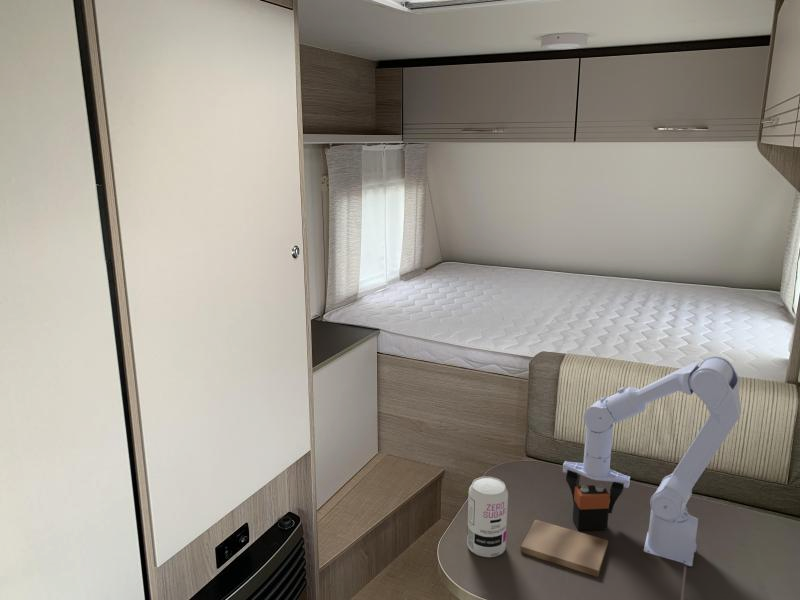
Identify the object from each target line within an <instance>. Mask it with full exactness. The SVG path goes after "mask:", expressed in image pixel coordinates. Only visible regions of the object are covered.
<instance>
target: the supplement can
mask: <svg viewBox="0 0 800 600" xmlns="http://www.w3.org/2000/svg"><path fill="white" fill-rule="evenodd" d="M467 498H468V500H467V504H468V505H467V530H466V531H467V533H466V536H467V537H466V538H467V539H466V545H467V548H468V549H469V550H470V551H471V553H473V554H475V555H476V556H479V557H482V558H483V557H484V558H494V557H495V558H496V557H498V556H500V555H502V554H503V553H504V552H505V551H506V547H507V544H506V543H507V542H506V541H507V525H508V524H507V523H508V506H509V505H508V503H509V491H508V489H507V487H506V484H505V482H504V481H502V480H501V479H499V478H497V477H494V476H480V477H478V478H477V477H476V478H475V479H474V480H473V481H472V484H471V485H470V486H469V489H468V497H467Z"/></svg>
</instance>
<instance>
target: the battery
mask: <svg viewBox="0 0 800 600" xmlns="http://www.w3.org/2000/svg"><path fill="white" fill-rule="evenodd" d="M609 504H610V492H609V491H608V490H607V488H606V487H605V485H604V484H602V483H596V484H586V485H584V484H583V485H579V486H575V492H574V503H573V507H572V508H573V510H572V521H573V523H574V525H575V527H576V528H577V531H593V530H594V531H597V530H607V528H608V522H609V514H610V513H609Z"/></svg>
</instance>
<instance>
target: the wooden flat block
mask: <svg viewBox="0 0 800 600" xmlns="http://www.w3.org/2000/svg"><path fill="white" fill-rule="evenodd" d="M608 545H609V540H608V539H605V538H601V537H598V536H594V535H590V534H588V533H585V532H580V531H578V530H574V529H570V528H566V527H564V526H563V527H562V526H559V525H556V524H553V523H550V522H547V521H542V520H539V519H534V521H533V523H532V524H531V526H530V528H529V530H528V533H527V534H526V536H525V538H524V539H523V542H522V543H521V545H520V553H523V554H525V555H528V556H531V557H534V558H537V559H539V560H540V559H541V560H543V561H546V562H550V563H553V564H554V565H555V564H556V565H559V566H562V567H564V568H568V569H571V570H573V571H574V570H575V571H578V572H581V573H583V574H584V573H585V574H587V575H590V576H593V577H597V578H598V577H599V575H600V573H601V569H602V567H603V566H602V565H603V562H604V559H605V555H606V553H607V550H608Z"/></svg>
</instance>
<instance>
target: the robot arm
mask: <svg viewBox="0 0 800 600" xmlns="http://www.w3.org/2000/svg"><path fill="white" fill-rule="evenodd" d="M699 363H700V365H699ZM739 378H740V377H739V376H738V373H737V372H736V370H735V368H734V366H733V365H732V363H731V362H730V361H729V360H728V359H726V358H724V357H722V356H716V355H715V356H709V357H707V358H705V359H703V361H702V362H701V361H700V360H699V361H694V362H692V363H690V364H688V365H686V366H683V367H681V368H678V369H677V370H674V371H673V372H670V373H669V374H666V375H665V376H663V377H661V378H659V379H657V380H655V381H653V382H651V383H649V384H648V385H645V386H643V387H642V388H637V387H633V386H629V387H627V388H626V387H625V386H622V387H620V388H618V390H617V392H615V393H614V394H613V395H611V396H608V397H606V396H602V397H600V399H599V400H596V401H595V402H594V403H592V405H590V407H588V408H587V409H586V410H585V411H584V414H583V421H584V424H585V426H586V430H585V438H584V452H583V453H584V454H583V462H574V461H567V460H565V461H564V462H563V464H562V473H566V476H565V481H566V483H567V484H568V486H569V489H570V492H571V496H572V502H573V504H574V492H575V486H580V481H581V480H580V479H581V476H583V477H586V478H588V479H591V480H593V481H604V482H607V483H612V484H611V486H610V489H609V494H610V503H609V514H613V511H614V506H615V504H616V501H617V500H618V499H619V497H620V496H621V494H622V493H623V491H624V488H626V489H628V488H629V487H630V481H631V476H630V475H625V474H623V473H621V472H618V471H616V470H614V469H611V467H610V466H611V456H612V446H613V431H614V424H615V423H616V424H617V423H621V422H623V421H625V420H628V419H631V418H632V417H634V416H637V415H639V414H641V413H644V412H645V411H646V407H647V404H649V403H652V402H654V401H656V400H659V399H662V398H663V397H667V396H669V395H671V394H674V393H677V392H681V393H684V394H686V395H688V396H692V395H693V393H694V394H695V396H697V397H698V398H699V400H701V401H702V403H704V405H705V406H706V408H707V410H708V413H709V416H708V417H707V419H706V421H705V422H704V424H703V425H702V427H701V428H700V430H699V432H698V433H697V435H696V436H695V438H694V439H693V440H692V442H691V444H690V445H689V447H688V449H687V450H686V452H685V453H684V455H683V457H682V458H681V460H680V461H679V463H678V464H677V465H676V467H675V468H674V470H673V471H672V473H670V474H669V475H666V476H664V477H663V478H662V480H661V482H660V484H659V486H658V487H657V489H656V491H655V492H654V493H653V495H652V496H651V497H650V499H649V500H650V501H649V505H650V516H649V525H648V531H647V533H646V536H645V543H644V546H643V547H644V548H643V552H645V553H647V554H651V555H654V556H657V557H661V558H664V559H668V560H671V561H675V562H679V563H682V564H684V566H687V567H693V564H694V555H695V553H696V551H697V545H698V544H697V543H696V541H697V540H696V539H697V532H698V525H699V518H698V517H695V516H693V515H691V514H690V513H689V512H688V508H687V503H688V501H689V500H691V497H692V494H693V487H694V486H695V484H696V483H697V481H698V480H699V479H700V477H701V476H702V474H703V473H704V471H705V469H706V468H707V466H708V465H709V464H710V462H711V460H713V458H714V457H715V455H716V454H717V451H718V450H719V449H720V447H721V446H722V444H723V442H724V441H725V440H726V438H727V437H728V436H729V434H730V433H731V431H732V430H733V428H734V426H735V425H736V423H737V421H738V420H739V419H740V416H741V413H742V408H741V407H742V406H741V398H740V386H739V385H740V384H739V383H740V382H739V381H740V380H739Z"/></svg>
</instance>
